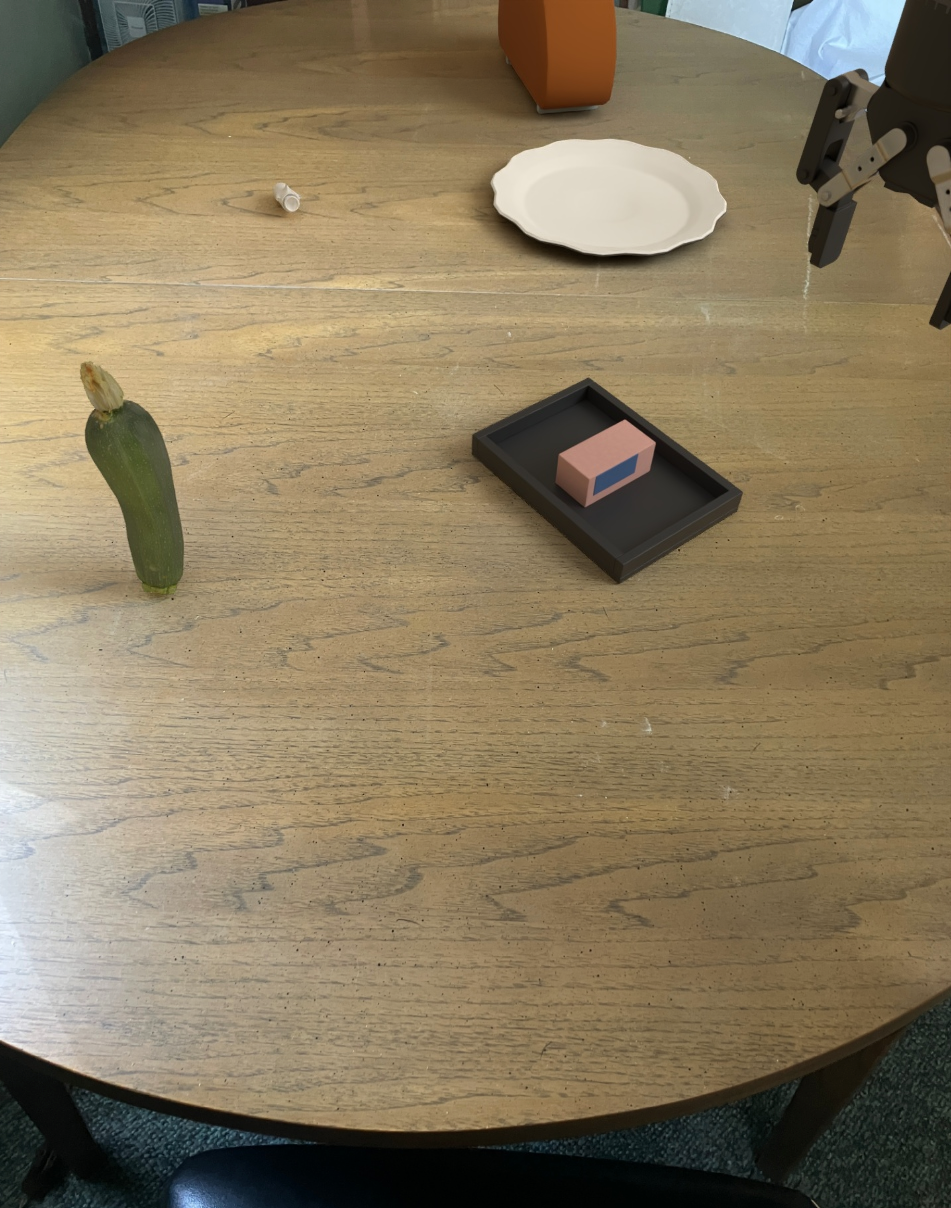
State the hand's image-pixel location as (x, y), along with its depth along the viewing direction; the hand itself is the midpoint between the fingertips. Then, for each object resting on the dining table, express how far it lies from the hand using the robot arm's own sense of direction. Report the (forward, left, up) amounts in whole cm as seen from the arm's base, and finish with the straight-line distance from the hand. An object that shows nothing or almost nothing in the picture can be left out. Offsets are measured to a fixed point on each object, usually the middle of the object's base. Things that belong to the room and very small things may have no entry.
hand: (880, 291), depth 57 cm
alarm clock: (+72, -38, -20) cm, 84 cm away
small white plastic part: (+64, +6, -20) cm, 68 cm away
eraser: (+12, +8, -20) cm, 25 cm away
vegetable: (+22, +40, -20) cm, 50 cm away
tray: (+12, +8, -20) cm, 25 cm away
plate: (+44, -22, -20) cm, 53 cm away
